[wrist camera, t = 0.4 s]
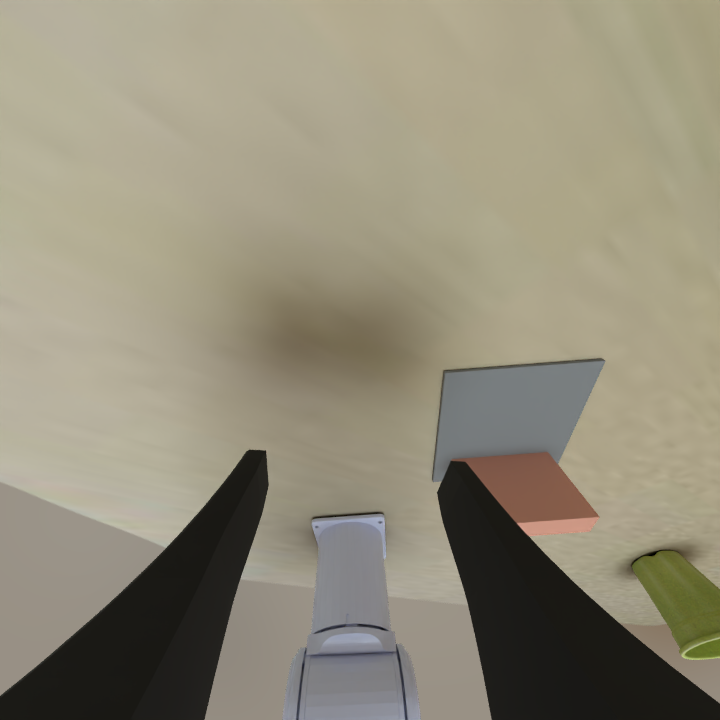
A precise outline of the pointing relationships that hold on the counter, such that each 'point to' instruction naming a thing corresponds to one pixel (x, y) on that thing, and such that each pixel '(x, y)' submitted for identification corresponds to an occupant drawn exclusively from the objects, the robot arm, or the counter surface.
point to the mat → (511, 410)
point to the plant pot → (683, 602)
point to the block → (535, 493)
